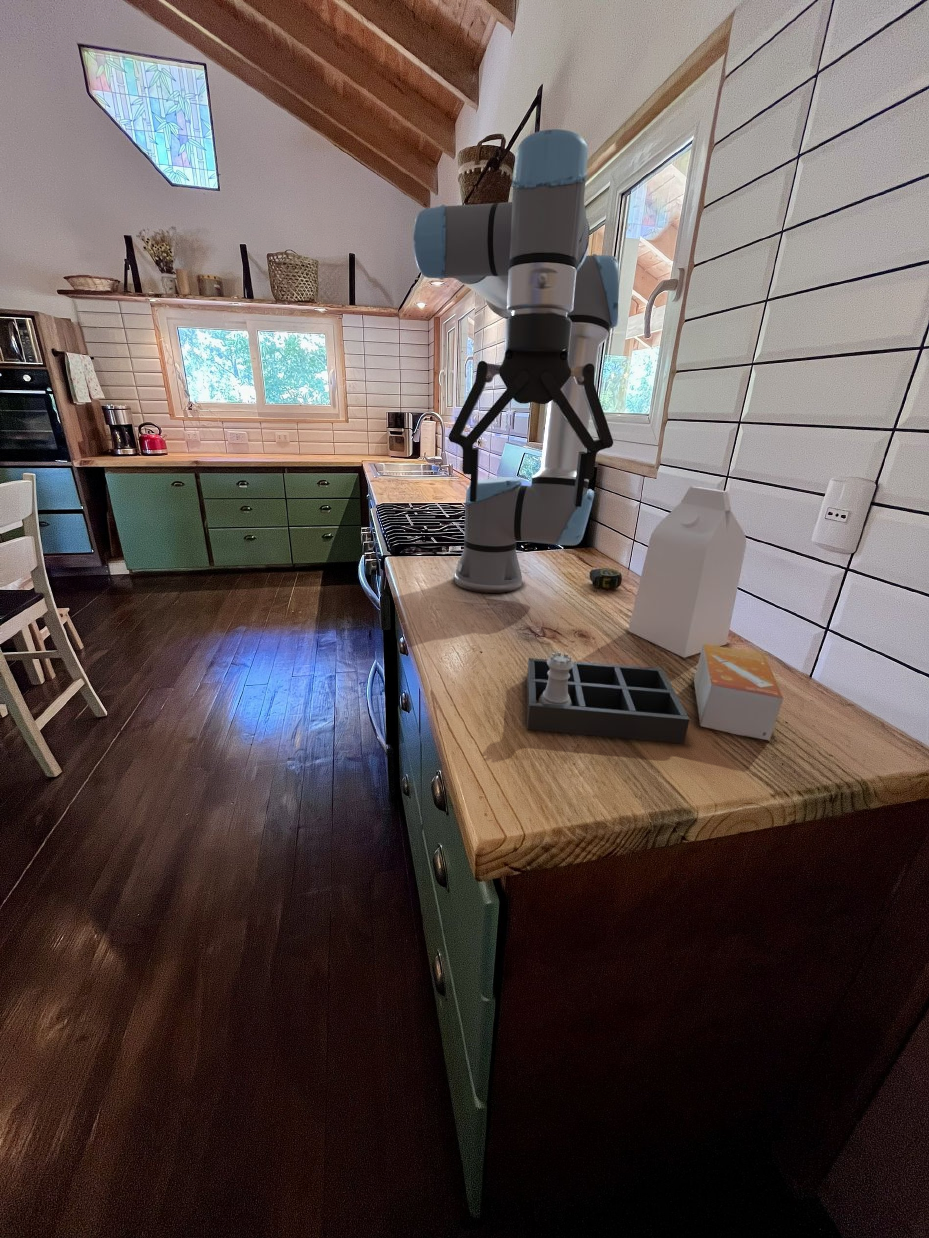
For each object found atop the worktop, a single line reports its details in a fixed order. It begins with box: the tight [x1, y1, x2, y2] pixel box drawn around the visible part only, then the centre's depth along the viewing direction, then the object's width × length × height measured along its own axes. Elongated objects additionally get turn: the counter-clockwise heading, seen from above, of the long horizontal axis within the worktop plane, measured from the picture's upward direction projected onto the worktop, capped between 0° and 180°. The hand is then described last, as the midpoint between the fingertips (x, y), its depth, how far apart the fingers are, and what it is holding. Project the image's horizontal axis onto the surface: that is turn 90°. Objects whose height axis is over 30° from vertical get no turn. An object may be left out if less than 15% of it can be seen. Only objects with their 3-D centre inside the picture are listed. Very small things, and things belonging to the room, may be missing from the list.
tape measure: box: [588, 567, 623, 590], centre depth 113 cm, size 7×7×4 cm
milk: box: [627, 485, 747, 659], centre depth 84 cm, size 12×12×26 cm
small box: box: [693, 644, 784, 741], centre depth 66 cm, size 8×6×13 cm
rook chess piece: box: [538, 651, 573, 706], centre depth 62 cm, size 4×4×8 cm
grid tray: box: [526, 657, 690, 745], centre depth 66 cm, size 13×19×4 cm
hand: (524, 502), depth 66 cm, fingers open, 13 cm apart
